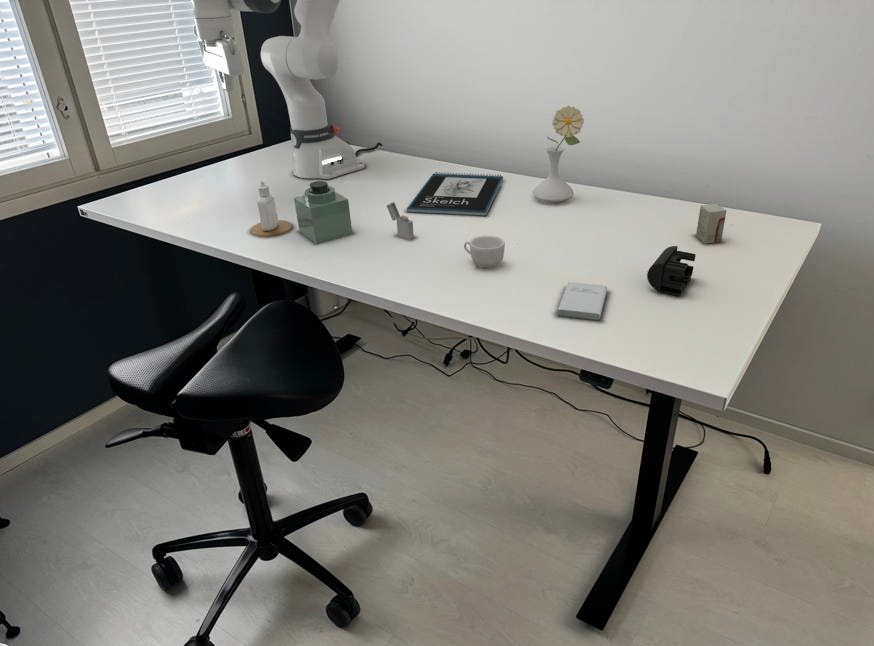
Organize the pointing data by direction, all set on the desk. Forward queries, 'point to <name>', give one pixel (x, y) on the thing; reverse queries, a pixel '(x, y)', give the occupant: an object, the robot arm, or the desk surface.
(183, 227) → the desk surface
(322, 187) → the grey short cylinder
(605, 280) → the desk surface
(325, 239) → the dispenser
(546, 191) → the flower in vase
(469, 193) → the sketchbook
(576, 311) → the hard drive
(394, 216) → the lighter
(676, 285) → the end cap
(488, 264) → the teacup
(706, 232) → the small box
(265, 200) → the eye dropper bottle
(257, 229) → the coaster
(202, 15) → the robot arm
